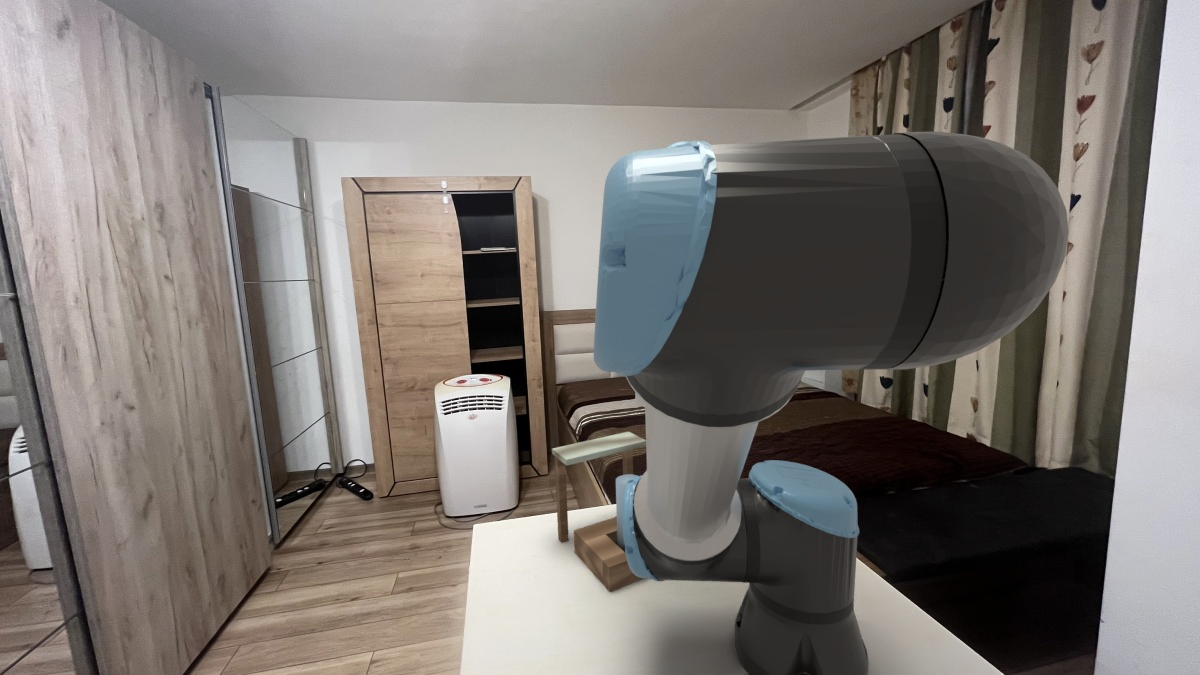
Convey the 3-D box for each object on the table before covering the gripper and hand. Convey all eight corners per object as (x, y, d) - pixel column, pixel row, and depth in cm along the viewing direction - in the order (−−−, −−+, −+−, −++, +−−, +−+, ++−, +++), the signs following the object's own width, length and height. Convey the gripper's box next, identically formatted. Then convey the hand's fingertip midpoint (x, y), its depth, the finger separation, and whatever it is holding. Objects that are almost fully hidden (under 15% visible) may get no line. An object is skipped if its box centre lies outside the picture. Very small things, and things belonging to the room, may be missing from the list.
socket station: (688, 560, 78) (687, 461, 76) (604, 594, 70) (600, 486, 68) (630, 514, 93) (628, 431, 91) (556, 538, 85) (551, 448, 83)
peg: (634, 549, 81) (633, 472, 79) (649, 562, 78) (648, 481, 76) (612, 557, 79) (610, 478, 77) (626, 571, 75) (624, 488, 74)
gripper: (714, 262, 81) (715, 383, 84) (593, 262, 68) (597, 406, 70) (750, 260, 75) (749, 390, 78) (623, 259, 62) (627, 418, 64)
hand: (677, 398), depth 74 cm, fingers open, 13 cm apart
